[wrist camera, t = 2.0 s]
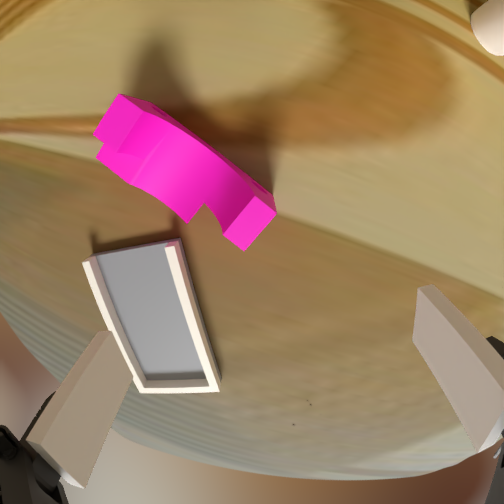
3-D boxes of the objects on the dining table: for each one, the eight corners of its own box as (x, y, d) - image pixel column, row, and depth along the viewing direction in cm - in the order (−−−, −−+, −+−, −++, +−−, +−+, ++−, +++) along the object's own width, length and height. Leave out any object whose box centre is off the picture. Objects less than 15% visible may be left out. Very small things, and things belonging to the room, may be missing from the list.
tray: (92, 254, 31) (81, 262, 29) (180, 237, 30) (174, 245, 28) (145, 380, 38) (140, 393, 36) (221, 377, 37) (219, 391, 35)
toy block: (117, 153, 28) (77, 160, 21) (151, 102, 26) (118, 93, 19) (232, 242, 31) (223, 274, 24) (272, 194, 29) (277, 213, 22)
